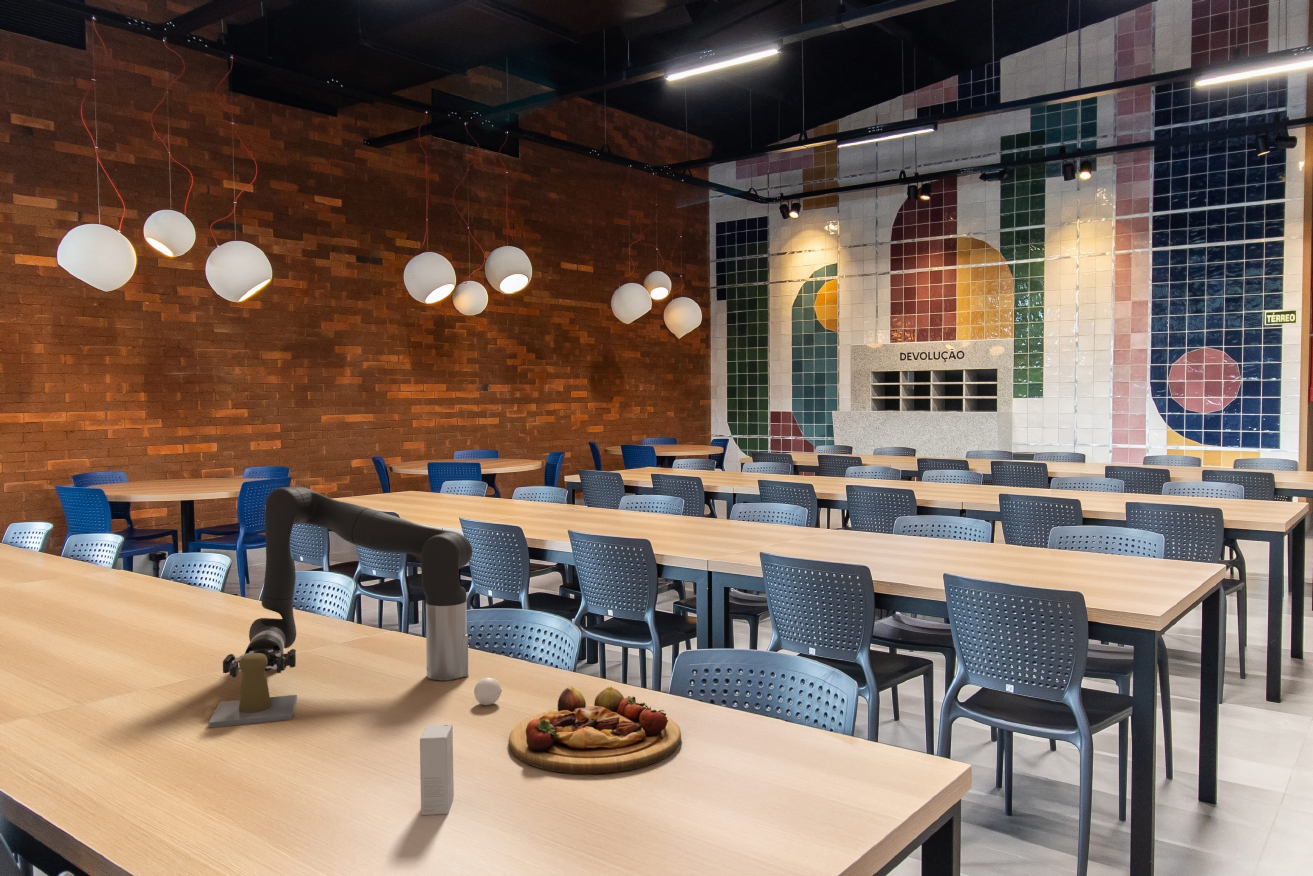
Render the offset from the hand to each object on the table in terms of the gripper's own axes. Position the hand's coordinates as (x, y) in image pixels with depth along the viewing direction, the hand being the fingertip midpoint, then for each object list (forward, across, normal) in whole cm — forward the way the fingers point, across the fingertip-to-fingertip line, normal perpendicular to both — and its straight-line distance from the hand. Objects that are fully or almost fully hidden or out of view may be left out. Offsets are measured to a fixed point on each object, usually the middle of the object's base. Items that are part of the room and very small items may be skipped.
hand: (256, 670), depth 183 cm
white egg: (+13, +46, +8) cm, 49 cm away
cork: (+3, 0, +7) cm, 8 cm away
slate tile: (+4, 0, +8) cm, 9 cm away
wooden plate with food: (+41, +62, +8) cm, 75 cm away
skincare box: (+60, +32, +8) cm, 68 cm away
